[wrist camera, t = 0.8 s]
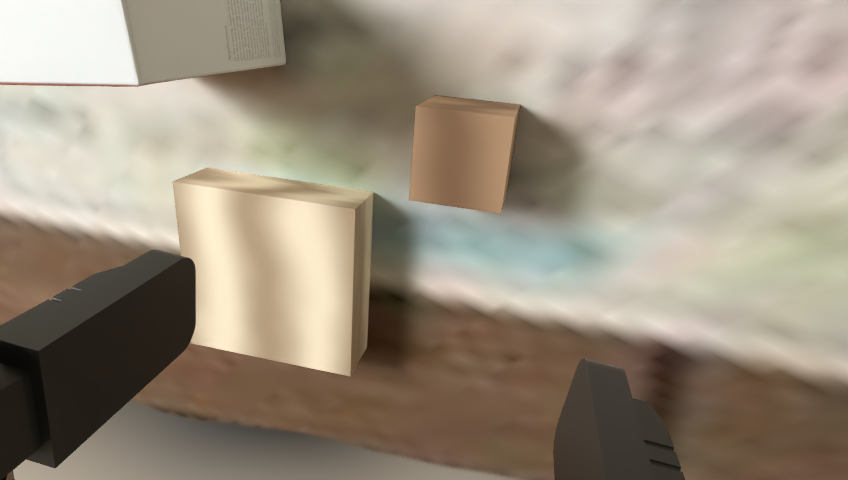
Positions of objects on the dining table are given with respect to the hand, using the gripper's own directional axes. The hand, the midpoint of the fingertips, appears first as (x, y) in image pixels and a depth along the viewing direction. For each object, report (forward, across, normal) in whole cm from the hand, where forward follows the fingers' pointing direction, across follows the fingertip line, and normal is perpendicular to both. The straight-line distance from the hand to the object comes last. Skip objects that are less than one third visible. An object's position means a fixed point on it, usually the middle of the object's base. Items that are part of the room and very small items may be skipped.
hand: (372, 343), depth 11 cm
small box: (+23, +17, -4) cm, 29 cm away
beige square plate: (+24, +11, +11) cm, 28 cm away
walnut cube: (+23, 0, 0) cm, 23 cm away
